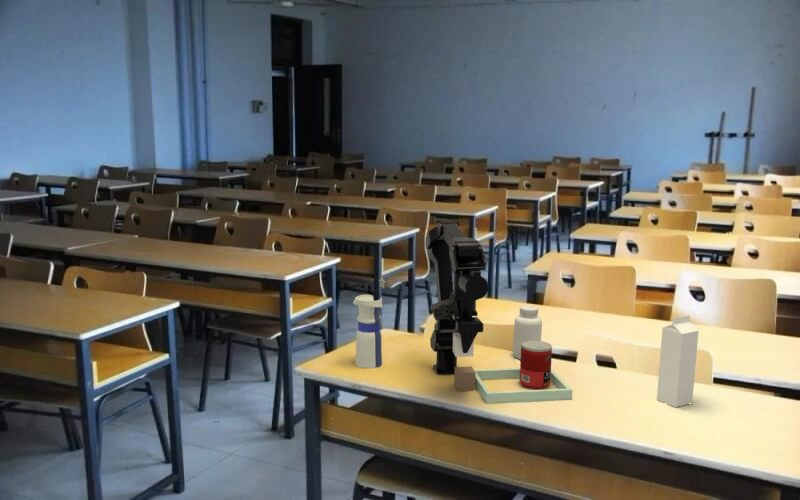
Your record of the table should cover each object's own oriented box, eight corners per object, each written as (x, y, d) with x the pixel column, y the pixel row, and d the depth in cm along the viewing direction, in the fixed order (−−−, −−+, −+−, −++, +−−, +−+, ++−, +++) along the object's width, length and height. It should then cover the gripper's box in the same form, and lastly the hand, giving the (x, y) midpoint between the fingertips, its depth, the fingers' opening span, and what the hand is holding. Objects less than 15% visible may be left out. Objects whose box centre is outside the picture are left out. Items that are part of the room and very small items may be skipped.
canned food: (550, 391, 187) (552, 350, 185) (518, 388, 188) (520, 348, 186) (550, 380, 194) (552, 341, 192) (520, 378, 195) (521, 339, 193)
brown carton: (454, 385, 190) (454, 367, 189) (470, 384, 191) (471, 366, 190) (457, 391, 186) (458, 372, 185) (475, 390, 186) (475, 372, 186)
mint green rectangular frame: (470, 378, 195) (470, 370, 194) (548, 375, 198) (549, 366, 197) (486, 403, 178) (486, 393, 178) (571, 399, 181) (572, 389, 181)
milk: (692, 403, 179) (700, 318, 175) (675, 408, 176) (683, 321, 172) (672, 395, 184) (680, 312, 180) (655, 399, 181) (663, 315, 177)
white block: (452, 351, 186) (453, 332, 185) (469, 350, 186) (470, 332, 185) (455, 356, 181) (456, 337, 180) (473, 356, 182) (473, 337, 181)
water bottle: (365, 356, 212) (365, 273, 207) (389, 362, 207) (389, 277, 202) (347, 364, 205) (347, 278, 201) (371, 370, 200) (371, 282, 196)
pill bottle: (542, 361, 209) (545, 311, 207) (514, 361, 209) (516, 310, 207) (537, 352, 217) (540, 304, 214) (511, 352, 217) (513, 303, 214)
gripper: (428, 282, 189) (427, 339, 192) (438, 299, 171) (437, 362, 174) (470, 281, 190) (468, 338, 193) (484, 298, 172) (482, 361, 175)
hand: (463, 349), depth 183 cm, fingers closed on white block, 4 cm apart
